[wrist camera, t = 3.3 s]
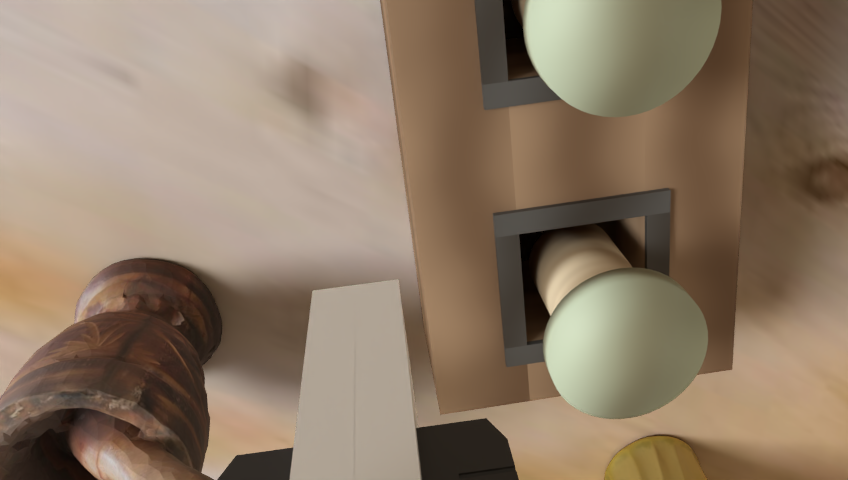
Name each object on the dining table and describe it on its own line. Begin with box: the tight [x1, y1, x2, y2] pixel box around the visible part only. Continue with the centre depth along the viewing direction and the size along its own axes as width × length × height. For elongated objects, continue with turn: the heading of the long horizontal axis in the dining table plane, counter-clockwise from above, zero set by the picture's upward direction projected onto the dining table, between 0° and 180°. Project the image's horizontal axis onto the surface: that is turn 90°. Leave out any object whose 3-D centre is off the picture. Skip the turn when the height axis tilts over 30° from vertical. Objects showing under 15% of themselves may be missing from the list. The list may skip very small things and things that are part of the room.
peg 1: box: [511, 0, 722, 117], centre depth 28 cm, size 6×6×8 cm
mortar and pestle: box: [0, 259, 222, 480], centre depth 33 cm, size 12×9×20 cm
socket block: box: [380, 0, 753, 415], centre depth 36 cm, size 14×24×8 cm, turn 7°
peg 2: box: [529, 224, 708, 419], centre depth 33 cm, size 6×6×8 cm
